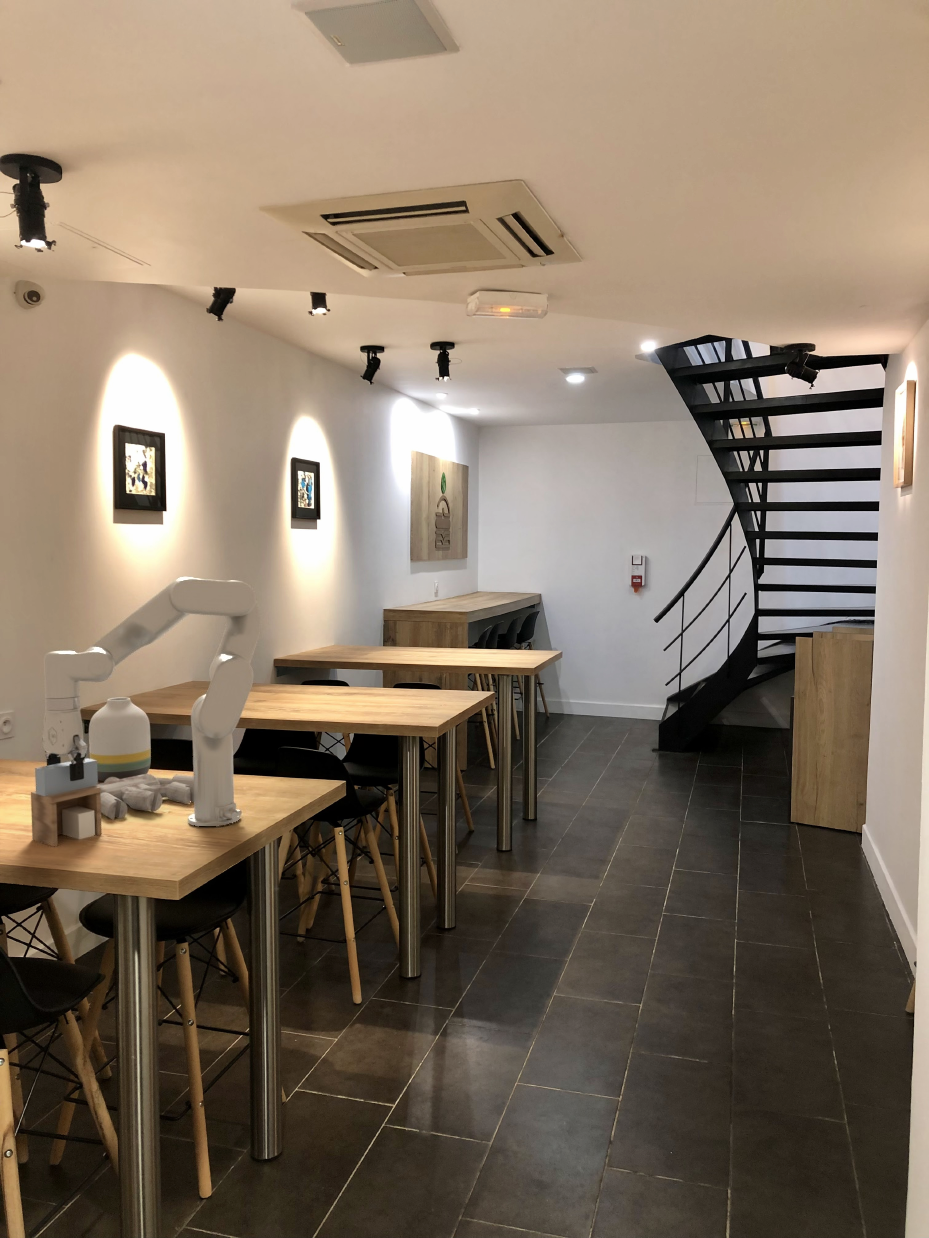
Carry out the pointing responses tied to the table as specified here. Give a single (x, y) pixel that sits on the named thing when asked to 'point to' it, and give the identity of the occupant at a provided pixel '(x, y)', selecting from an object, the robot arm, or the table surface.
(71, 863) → the table surface
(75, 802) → the open wooden box
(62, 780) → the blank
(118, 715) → the vase
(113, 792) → the white branched piece
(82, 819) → the block
